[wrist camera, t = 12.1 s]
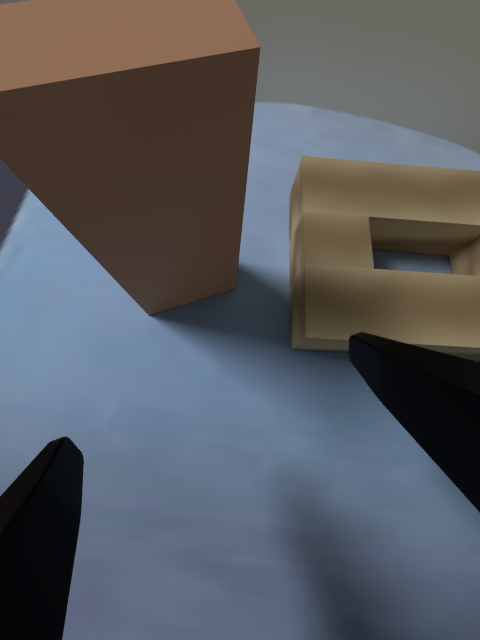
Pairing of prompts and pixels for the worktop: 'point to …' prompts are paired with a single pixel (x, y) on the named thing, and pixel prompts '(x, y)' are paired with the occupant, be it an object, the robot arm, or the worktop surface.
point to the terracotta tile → (135, 133)
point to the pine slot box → (387, 235)
